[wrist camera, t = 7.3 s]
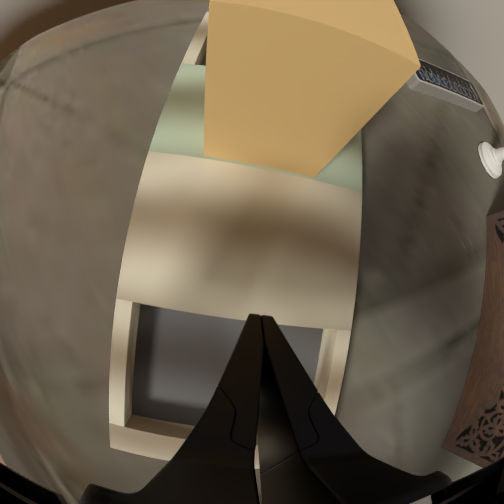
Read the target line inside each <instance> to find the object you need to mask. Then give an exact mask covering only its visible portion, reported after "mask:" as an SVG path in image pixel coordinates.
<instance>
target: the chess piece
mask: <svg viewBox="0 0 504 504" xmlns="http://www.w3.org/2000/svg"><path fill="white" fill-rule="evenodd" d="M478 151H479V156H480V159H481V162H482V164H483V166H484V168H485V169H486V171H487V172H488V174H489V175H490V176H491V177H493V178H498V177H499V176H500V175H501V172H502V167H501V164H502V161H503V160H504V147H501V148H498V149H495V148H493V147H492V146H491V145H490V144H489V143H487V142H483V143H480V144H479V146H478Z"/></svg>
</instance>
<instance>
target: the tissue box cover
mask: <svg viewBox="0 0 504 504" xmlns="http://www.w3.org/2000/svg"><path fill="white" fill-rule="evenodd" d="M486 217H487V253H486V272H485V284H484V294H483V302H482V309H481V316H480V322H479V328H478V333H477V339H476V343H475V348H474V352H473V357H472V361H471V365H470V369H469V372H468V376H467V379H466V383H465V386H464V389H463V393H462V396H461V399H460V402H459V405H458V408H457V410H456V413H455V416H454V418H453V421H452V424H451V426H450V429H449V431H448V434H447V436H446V438H445V441H444V443H443V445H442V447H443V448H445V449H447V450H449V451H450V452H452V453H454V454H456V455H458V456H460V457H462V458H464V459H466V460H468V461H470V462H472V463H474V464H476V465H478V466H480V467H483V468H484V467H486V466H488V465H490V464H492V463H494V462H495V461H497V460H499V459H501V458H502V457H504V211H501V212H498V213H495V214H492V215H489V216H486Z"/></svg>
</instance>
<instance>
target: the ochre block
mask: <svg viewBox="0 0 504 504" xmlns="http://www.w3.org/2000/svg"><path fill="white" fill-rule="evenodd" d="M420 67H421V65H420V62H419V59H418V57H417V54H416V51H415V48H414V46H413V43H412V41H411V38H410V36H409V33H408V31H407V29H406V26H405V24H404V22H403V19H402V17H401V15H400V13H399V11H398V9H397V7H396V5H395V3H394V1H393V0H210V4H209V17H208V32H207V50H206V72H205V105H204V156H208V157H215V158H221V159H227V160H233V161H238V162H244V163H249V164H254V165H259V166H264V167H269V168H274V169H279V170H284V171H288V172H293V173H297V174H301V175H306V176H310V177H314V178H315V177H316V176H317V175H318V173H319V172H320V171H321V170H322V169H323V168H324V167H325V166H326V165H327V164H328V163H329V162H330V161H331V160H332V159H333V158H334V157H335V156H336V155H337V153H338V152H339V151H340V150H341V149H342V148H343V147H344V146H345V145H346V144H347V143H348V142H349V141H350V140H351V139H352V138H353V137H354V136H355V135H356V134H357V133H358V131H359V130H360V129H361V128H362V127H363V126H364V125H365V124H366V123H367V122H368V121H369V120H370V119H371V118H372V117H373V116H374V115H375V114H376V113H377V112H378V111H379V110H380V108H381V107H382V106H383V105H384V104H385V103H386V102H387V101H388V100H389V99H390V98H391V97H392V96H393V95H394V94H395V93H396V92H397V91H398V90H399V89H400V88H401V87H402V86H403V85H404V84H405V83H406V81H407V80H408V79H409V78H410V77H411V76H412V75H413V74H414V73H415V72H416V71H417V70H418V69H419V68H420Z"/></svg>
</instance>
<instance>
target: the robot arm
mask: <svg viewBox="0 0 504 504" xmlns="http://www.w3.org/2000/svg"><path fill="white" fill-rule="evenodd" d="M317 392H318V390H317V388H316V387H315V385H314V383H313V382H312V380H311V379H310V377H309V375H308V374H307V372H306V370H305V369H304V367H303V366H302V364H301V362H300V361H299V359H298V357H297V356H296V354H295V352H294V351H293V349H292V348H291V346H290V344H289V343H288V341H287V339H286V338H285V336H284V334H283V333H282V331H281V329H280V328H279V326H278V324H277V323H276V321H275V319H274V318H273V317H272V316H268V315H261V316H260V315H259V314H252V313H250V314H249V315H248V317H247V319H246V322H245V324H244V326H243V329H242V331H241V333H240V336H239V338H238V340H237V342H236V345H235V347H234V349H233V352H232V354H231V356H230V358H229V361H228V363H227V365H226V368H225V370H224V372H223V374H222V377H221V379H220V381H219V383H218V386H217V388H216V390H215V392H214V394H213V396H212V398H211V400H210V402H209V404H208V406H207V408H206V410H205V411H204V413H203V415H202V416H201V418H200V419H199V421H198V422H197V424H196V425H195V427H194V428H193V430H192V431H191V433H190V434H189V436H188V437H187V438H186V440H185V441H184V443H183V444H182V446H181V447H180V448H179V450H178V451H177V452H176V454H175V455H174V456H173V457H172V459H171V460H170V461H169V462H168V463H167V464H166V465H165V466H164V467H163V468H162V469H161V470H160V472H159V473H158V474H157V475H156V476H155V477H154V478H153V479H152V480H151V481H150V482H149V483H148V484H147V485H146V486H145V487H144V488H143V489H141V490H140V491H138V492H135V493H122V492H119V491H115V490H112V489H108V488H105V487H102V486H98V485H95V484H89V485H88V486H87V488H86V490H85V491H84V493H83V495H82V497H81V499H80V501H79V504H260V503H259V496H258V489H257V482H256V475H255V449H256V438H257V441H258V453H259V466H260V474H261V475H260V479H261V492H262V504H504V457H502V458H501V459H499V460H497V461H495V462H494V463H492V464H490V465H488V466H486V467H484V468H482V469H480V470H478V471H476V472H474V473H472V474H470V475H468V476H466V477H463V478H461V479H459V480H456V481H454V482H452V481H451V479H450V478H449V477H448V476H447V475H445V474H444V473H442V472H440V471H436V472H433V473H431V474H429V475H426V476H416V475H412V474H409V473H407V472H405V471H402V470H400V469H398V468H395V467H393V466H391V465H389V464H386V463H384V462H382V461H380V460H378V459H376V458H374V457H372V456H370V455H369V454H367V453H366V452H365V451H364V450H363V449H362V448H361V447H360V446H359V445H358V444H357V443H356V442H355V440H354V439H353V438H352V437H351V436H350V434H349V433H348V432H347V431H346V429H345V428H344V427H343V426H342V425H341V423H340V422H339V421H338V419H337V418H336V417H335V416H334V414H333V413H332V412H331V410H330V409H329V407H328V406H327V404H326V403H325V401H324V400H323V398H322V396H321V395H320V393H319V392H318V393H317ZM0 504H67V502H66V501H65V499H64V498H63V496H62V495H60V494H58V493H56V492H54V491H51V490H49V489H47V488H45V487H43V486H41V485H39V484H37V483H35V482H33V481H31V480H29V479H28V478H26V477H24V476H22V475H20V474H19V473H17V472H15V471H13V470H12V469H10V468H8V467H7V466H5V465H3V464H2V463H0Z"/></svg>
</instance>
